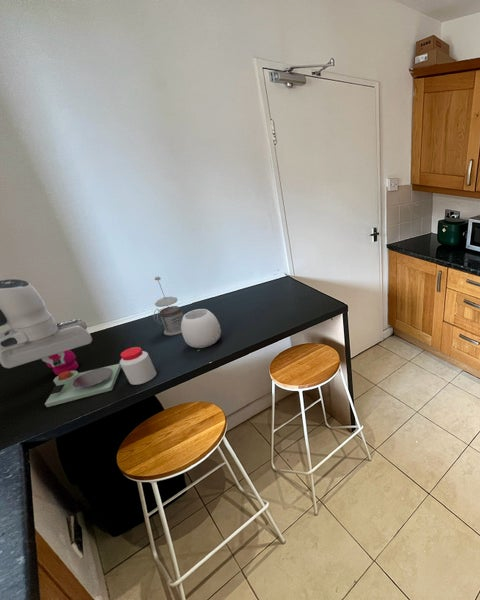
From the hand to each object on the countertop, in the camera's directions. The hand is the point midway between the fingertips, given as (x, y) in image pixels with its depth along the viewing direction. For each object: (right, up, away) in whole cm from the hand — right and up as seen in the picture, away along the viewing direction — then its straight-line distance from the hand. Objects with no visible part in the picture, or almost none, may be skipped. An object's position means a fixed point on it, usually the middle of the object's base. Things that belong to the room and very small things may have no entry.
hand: (59, 364), depth 103 cm
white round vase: (+33, +4, +25) cm, 42 cm away
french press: (+14, +8, +34) cm, 37 cm away
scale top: (+8, -5, 0) cm, 9 cm away
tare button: (0, -5, +2) cm, 5 cm away
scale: (+7, -7, +3) cm, 10 cm away
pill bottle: (+23, -6, +6) cm, 24 cm away
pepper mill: (-8, -4, +10) cm, 13 cm away
